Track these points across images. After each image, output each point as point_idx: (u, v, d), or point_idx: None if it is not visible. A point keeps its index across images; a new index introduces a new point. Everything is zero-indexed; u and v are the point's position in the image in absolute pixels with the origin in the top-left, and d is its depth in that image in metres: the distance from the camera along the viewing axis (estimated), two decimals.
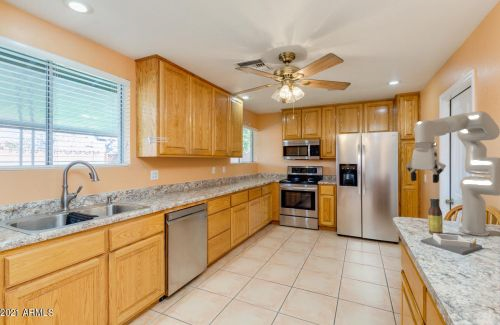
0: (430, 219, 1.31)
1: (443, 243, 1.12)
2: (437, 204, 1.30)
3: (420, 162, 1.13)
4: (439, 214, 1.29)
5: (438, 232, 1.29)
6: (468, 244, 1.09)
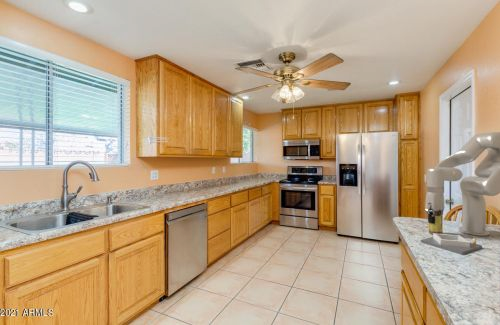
0: None
1: (443, 243, 1.12)
2: None
3: (439, 204, 1.29)
4: (439, 214, 1.29)
5: (438, 232, 1.29)
6: (468, 244, 1.09)
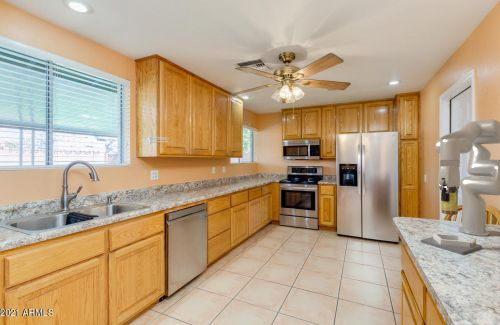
0: None
1: (443, 243, 1.12)
2: None
3: (454, 180, 1.13)
4: (454, 191, 1.13)
5: (453, 211, 1.12)
6: (468, 244, 1.09)
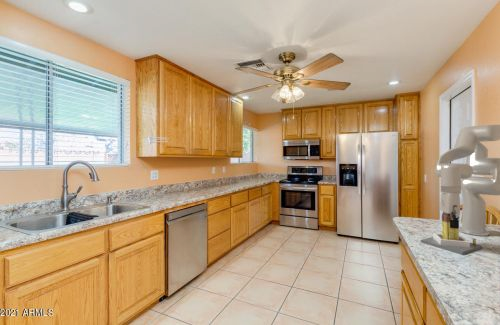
0: None
1: (443, 243, 1.12)
2: None
3: None
4: None
5: (458, 240, 1.13)
6: (468, 244, 1.09)
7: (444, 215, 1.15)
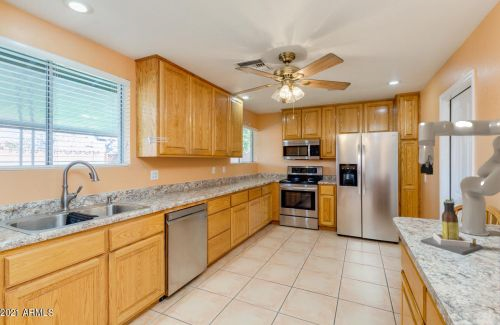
0: (450, 227, 1.13)
1: (443, 243, 1.12)
2: (453, 208, 1.14)
3: None
4: (457, 220, 1.13)
5: (458, 240, 1.13)
6: (468, 244, 1.09)
7: (444, 215, 1.15)
